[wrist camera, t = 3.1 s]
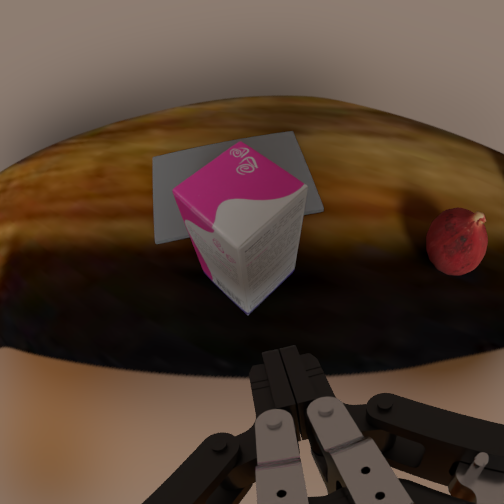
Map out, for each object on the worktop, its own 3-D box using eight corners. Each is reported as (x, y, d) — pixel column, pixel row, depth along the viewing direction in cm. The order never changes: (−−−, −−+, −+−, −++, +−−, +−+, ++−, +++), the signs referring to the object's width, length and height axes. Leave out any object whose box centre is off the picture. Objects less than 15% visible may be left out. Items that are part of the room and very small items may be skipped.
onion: (441, 300, 25) (488, 263, 18) (402, 254, 28) (438, 206, 21) (471, 265, 27) (515, 224, 20) (435, 224, 29) (470, 175, 22)
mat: (292, 134, 35) (292, 131, 35) (323, 211, 30) (323, 208, 30) (153, 160, 34) (152, 157, 34) (156, 244, 29) (154, 241, 29)
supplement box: (297, 269, 28) (312, 186, 17) (247, 317, 26) (234, 255, 16) (249, 228, 30) (240, 136, 19) (201, 271, 28) (165, 191, 18)
